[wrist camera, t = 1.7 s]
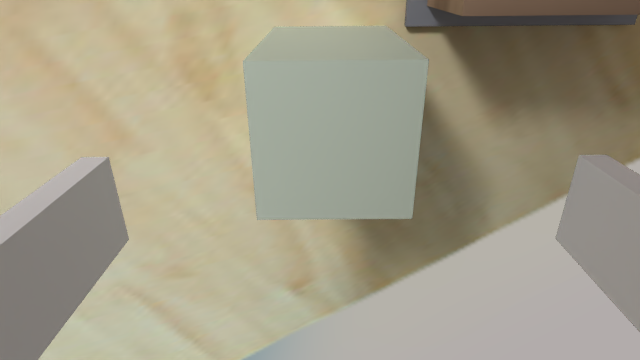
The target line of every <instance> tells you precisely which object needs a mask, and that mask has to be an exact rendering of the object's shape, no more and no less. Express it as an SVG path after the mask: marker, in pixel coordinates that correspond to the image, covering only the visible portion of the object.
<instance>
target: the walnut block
mask: <svg viewBox="0 0 640 360" xmlns="http://www.w3.org/2000/svg"><path fill="white" fill-rule="evenodd" d="M427 6H429V7H433V8H436V9H440V10H443V11H446V12H450V13H453V14H456V15H460V16H537V15H640V0H428V1H427Z"/></svg>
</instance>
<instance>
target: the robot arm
mask: <svg viewBox="0 0 640 360" xmlns="http://www.w3.org/2000/svg"><path fill="white" fill-rule="evenodd" d="M128 240H129V238H128V234H127V230H126V226H125V221H124V217H123V213H122V209H121V205H120V201H119V197H118V193H117V189H116V185H115V181H114V177H113V173H112V169H111V165H110V161H109V157H81V158H80V159H78V160H77V161H75V162H74V163H73V164H71V165H70V166H69V167H67V168H66V169H64V170H63V171H62V172H60V173H59V174H57V175H56V176H55V177H53V178H52V179H51V180H49V181H48V182H46V183H45V184H44V185H42V186H41V187H39V188H38V189H37V190H35V191H34V192H33V193H31V194H30V195H28V196H27V197H26V198H24V199H23V200H21V201H20V202H19V203H17V204H16V205H14V206H13V207H12V208H10V209H9V210H8V211H6V212H5V213H3V214H2V215H1V216H0V360H38V359H39V357H40V356H41V355H42V353H43V352H44V351H45V349H46V348H47V347H48V345H49V344H50V343H51V341H52V340H53V339H54V338H55V336H56V335H57V334H58V332H59V331H60V330H61V328H62V327H63V326H64V324H65V323H66V322H67V320H68V319H69V318H70V316H71V315H72V314H73V312H74V311H75V310H76V309H77V307H78V306H79V305H80V303H81V302H82V301H83V299H84V298H85V297H86V295H87V294H88V293H89V291H90V290H91V289H92V287H93V286H94V285H95V283H96V282H97V281H98V280H99V278H100V277H101V276H102V274H103V273H104V272H105V270H106V269H107V268H108V266H109V265H110V264H111V262H112V261H113V260H114V258H115V257H116V256H117V254H118V253H119V252H120V251H121V249H122V248H123V247H124V245H125V244H126V243H127V241H128ZM556 240H557V241H558V242H559V243H560V244H561V245H562V246H563V247H564V249H565V250H566V251H567V252H568V253H569V254H570V255H571V256H572V257H573V258H574V259H575V261H576V262H577V263H578V264H579V265H580V266H581V267H582V268H583V270H584V271H585V272H586V273H587V274H588V275H589V276H590V277H591V278H592V279H593V281H594V282H595V283H596V284H597V285H598V286H599V287H600V288H601V290H602V291H603V292H604V293H605V294H606V295H607V296H608V297H609V298H610V300H611V301H612V302H613V303H614V304H615V305H616V306H617V307H618V308H619V310H620V311H621V312H622V313H623V314H624V315H625V316H626V317H627V318H628V320H629V321H630V322H631V323H632V324H633V325H634V326H635V327H636V328H637V329H638V331H639V332H640V175H639V174H637V173H636V172H634V171H633V170H631V169H629V168H628V167H626V166H624V165H623V164H621V163H620V162H618V161H616V160H615V159H613V158H611V157H610V156H608V155H579V157H578V160H577V164H576V167H575V171H574V174H573V178H572V182H571V185H570V189H569V192H568V196H567V199H566V203H565V207H564V210H563V214H562V217H561V221H560V224H559V228H558V232H557V235H556Z"/></svg>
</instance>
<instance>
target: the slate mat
mask: <svg viewBox="0 0 640 360" xmlns="http://www.w3.org/2000/svg"><path fill="white" fill-rule="evenodd" d="M427 1H428V0H407V3H406V16H405V26H518V25H632V24H635V22H636V19H637V15H537V16H460V15H456V14H453V13H450V12H446V11H443V10H440V9H436V8H433V7H429V6H427Z"/></svg>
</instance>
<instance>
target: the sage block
mask: <svg viewBox="0 0 640 360" xmlns="http://www.w3.org/2000/svg"><path fill="white" fill-rule="evenodd" d="M428 63H429V59H428V58H426V57H425V56H424V55H422V54H421V53H420V52H419V51H417V50H416V49H415V48H414V47H412V46H411V45H410V44H409V43H407V42H406V41H405V40H403V39H402V38H401V37H400V36H398V35H397V34H396V33H395V32H393V31H392V30H391V29H389V28H388V27H387V26H295V27H274V28H273V29H272V30H271V31H270V32H269V33H268V34H267V35H266V37H265V38H264V39H263V40H262V41H261V42H260V43H259V44H258V45H257V46H256V47H255V48H254V50H253V51H252V52H251V53H250V54H249V55H248V56H247V57H246V58H245V59H244V60H243V68H244V79H245V90H246V102H247V113H248V124H249V135H250V147H251V158H252V169H253V180H254V192H255V203H256V214H257V220H292V219H412V216H413V206H414V197H415V187H416V178H417V168H418V159H419V149H420V140H421V130H422V121H423V111H424V102H425V92H426V83H427V73H428Z"/></svg>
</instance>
